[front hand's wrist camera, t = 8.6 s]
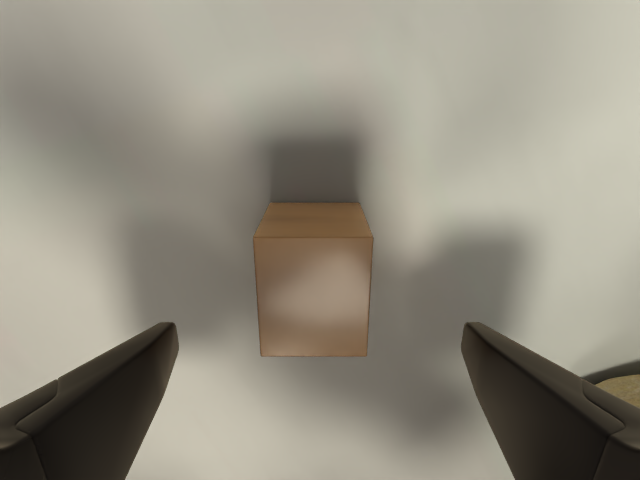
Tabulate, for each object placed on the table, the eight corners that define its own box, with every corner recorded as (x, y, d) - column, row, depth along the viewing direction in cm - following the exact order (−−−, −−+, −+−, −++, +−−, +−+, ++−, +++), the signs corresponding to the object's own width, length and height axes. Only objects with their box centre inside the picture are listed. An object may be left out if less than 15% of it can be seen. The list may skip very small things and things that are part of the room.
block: (355, 297, 18) (366, 356, 14) (274, 297, 18) (260, 357, 14) (359, 202, 17) (373, 236, 12) (269, 202, 17) (252, 236, 12)
